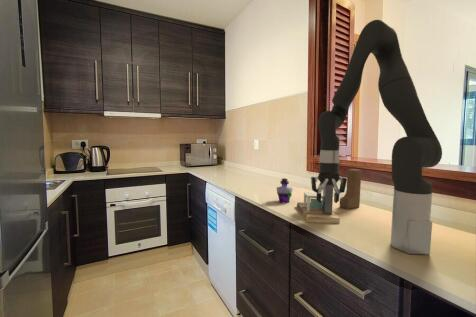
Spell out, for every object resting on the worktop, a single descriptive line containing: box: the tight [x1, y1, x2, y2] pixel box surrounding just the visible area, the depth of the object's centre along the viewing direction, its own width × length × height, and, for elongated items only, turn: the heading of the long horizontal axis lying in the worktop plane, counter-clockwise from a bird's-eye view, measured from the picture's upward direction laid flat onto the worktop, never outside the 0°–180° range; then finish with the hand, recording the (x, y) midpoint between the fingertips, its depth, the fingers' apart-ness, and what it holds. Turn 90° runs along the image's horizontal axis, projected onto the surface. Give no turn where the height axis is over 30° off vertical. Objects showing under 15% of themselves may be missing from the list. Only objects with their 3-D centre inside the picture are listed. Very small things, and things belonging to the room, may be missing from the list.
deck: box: [296, 201, 341, 224], centre depth 106 cm, size 22×12×2 cm, turn 177°
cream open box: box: [303, 191, 323, 211], centre depth 107 cm, size 7×9×6 cm
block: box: [310, 198, 322, 207], centre depth 107 cm, size 4×4×4 cm
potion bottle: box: [276, 178, 293, 204], centre depth 127 cm, size 9×9×12 cm
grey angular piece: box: [310, 185, 334, 214], centre depth 104 cm, size 11×8×12 cm
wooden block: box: [339, 168, 362, 210], centre depth 117 cm, size 9×4×18 cm, turn 118°
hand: (327, 202), depth 101 cm, fingers open, 6 cm apart
